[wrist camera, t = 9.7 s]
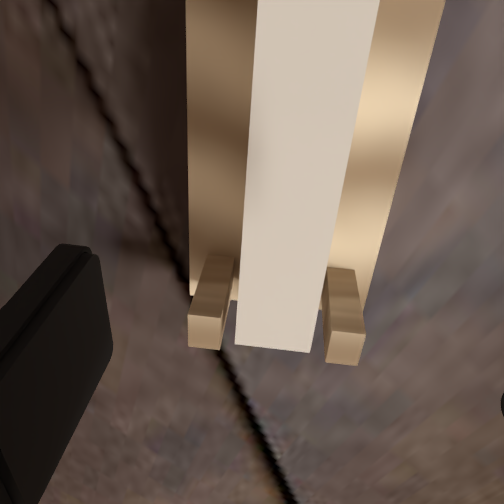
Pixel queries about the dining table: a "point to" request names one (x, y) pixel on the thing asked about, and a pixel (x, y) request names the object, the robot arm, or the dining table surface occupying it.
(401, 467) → the dining table surface
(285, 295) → the white rectangular block
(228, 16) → the rack
